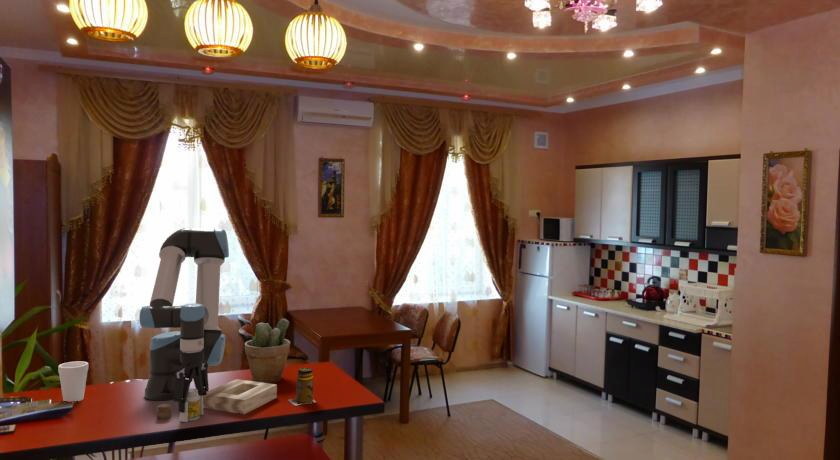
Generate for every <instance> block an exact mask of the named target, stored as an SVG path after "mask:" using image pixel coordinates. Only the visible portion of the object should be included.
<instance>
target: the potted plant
mask: <svg viewBox="0 0 840 460" xmlns="http://www.w3.org/2000/svg"><path fill="white" fill-rule="evenodd" d="M289 325H290V321H289V320H288V319H286V318H281V319H279V321H277V324H276V327H274V328H272V326H270V324H269V323H268V322H266V323H264V322H259V323H257V324H256V325H255V328H254V329H255V332H254V336H252V338H251V339H249V340H247V341H246V342H244V351H245V355H246V356H247V361H248V366H249V370H250V374H251V377H252V381H254V382H262V383H269V384H274V383H276V382H279V381H281V380H282V376H283V374H284V370H285V367H286V364H287V359H288V354H289V353H290V348H291V347H290V346H291V341H290V340H289V339H286V337H285V336H286V331H287V330H288V328H289Z"/></svg>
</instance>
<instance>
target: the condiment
mask: <svg viewBox="0 0 840 460" xmlns="http://www.w3.org/2000/svg"><path fill="white" fill-rule="evenodd" d="M312 399H313V400H312ZM288 402H290V403H291V404H292V405H293V406H300V405H308V404H314V403H317V401H316V400H315V399H314V376H313V369H312V368H310V367H300V368H299V369H297V377H296V398H290V399H288ZM312 402H313V403H312ZM297 403H300V404H297Z"/></svg>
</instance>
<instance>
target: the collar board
mask: <svg viewBox="0 0 840 460" xmlns="http://www.w3.org/2000/svg"><path fill="white" fill-rule="evenodd" d="M277 387H278V385H277V384H275V383H262V382H254V381H253V380H245V379H238V378H237V379H233V380H231V381H229V382H227V383H224V384H222V385H219V386H217V387H215V388H212V389H209V390H208V392H207V395H204V404H203V409H207V410H213V411H214V410H215V411H220V412H227V413H233V414H239V413H240V414H239V415H246V414H248V413H250V412H251V411H254V410H257V408H260V407H261V406H263V405H265V404H267V403H269V402H272V401H273V400H275V399H277V396H278V388H277Z"/></svg>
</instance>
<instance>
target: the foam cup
mask: <svg viewBox="0 0 840 460" xmlns="http://www.w3.org/2000/svg"><path fill="white" fill-rule="evenodd" d="M57 366H58V367H57V368H58V369H57V371H58V372H57V373H58V374H59V381H60V388H61V395H62V400H63V402H64V401H75V402H74V403H77V402H76V401H78V402H81V401H83V400H84V396H85V393H86V392H85V390H86V382H87V377H88V371H89V362H87V361H81V360H80V361H78V360H77V361H69V362H64V363H60V364H59V365H57Z"/></svg>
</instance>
